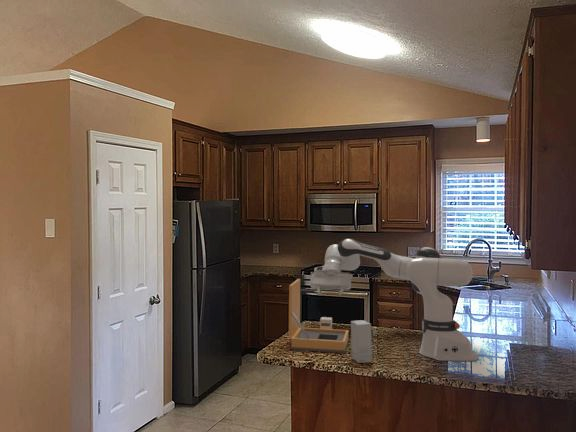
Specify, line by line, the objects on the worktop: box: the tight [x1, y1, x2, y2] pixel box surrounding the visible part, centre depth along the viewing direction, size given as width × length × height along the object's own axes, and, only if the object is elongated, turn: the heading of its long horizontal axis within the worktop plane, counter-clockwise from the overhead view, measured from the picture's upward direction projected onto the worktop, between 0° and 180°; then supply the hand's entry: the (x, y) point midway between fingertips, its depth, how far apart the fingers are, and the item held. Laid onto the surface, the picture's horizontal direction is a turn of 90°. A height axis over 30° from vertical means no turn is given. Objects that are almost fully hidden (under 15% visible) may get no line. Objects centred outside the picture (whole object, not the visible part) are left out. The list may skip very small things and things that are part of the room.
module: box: [319, 316, 333, 329], centre depth 239 cm, size 5×5×8 cm
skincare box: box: [350, 319, 373, 364], centre depth 201 cm, size 8×6×15 cm
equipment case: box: [288, 278, 350, 354], centre depth 222 cm, size 23×20×26 cm
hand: (329, 295), depth 250 cm, fingers open, 8 cm apart
